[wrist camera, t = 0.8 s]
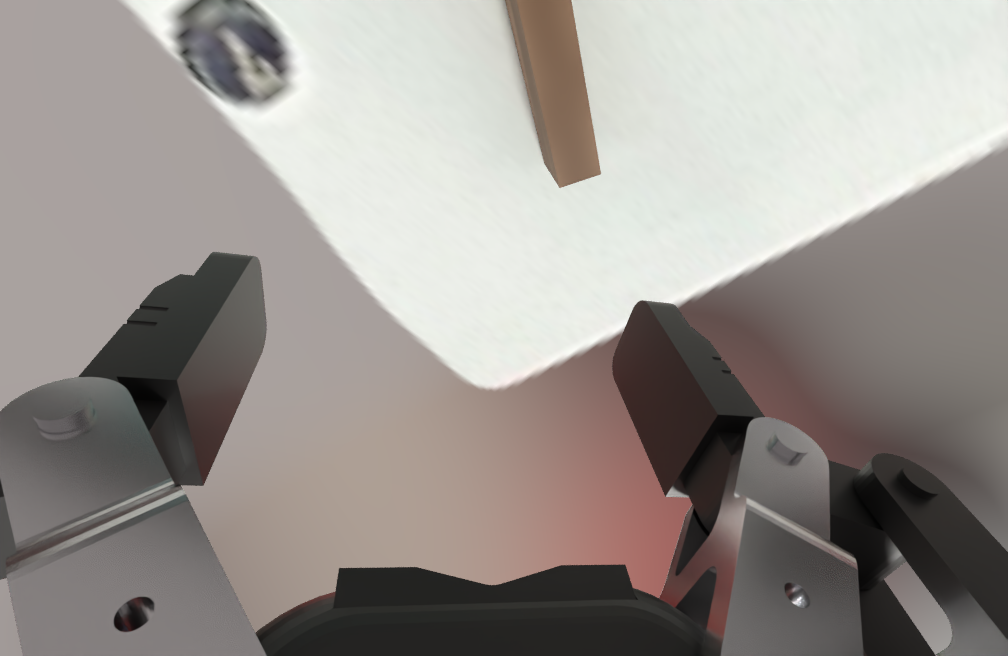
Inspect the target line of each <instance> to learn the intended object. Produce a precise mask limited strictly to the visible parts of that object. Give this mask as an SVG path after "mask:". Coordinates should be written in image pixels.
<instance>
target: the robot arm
mask: <svg viewBox="0 0 1008 656" xmlns="http://www.w3.org/2000/svg"><path fill="white" fill-rule="evenodd" d="M265 338H266V313H265V303H264V293H263V284H262V273H261V266H260V262H259V259H258V258H257V257H255V256H247V255H238V254H229V253H220V252H213V253H211V254H210V255H209V257H208V258H207V259H206V261H205V262H204V263H203V264H202V266H201V267H200V268H199V270H198V271H197V272H196V274H195V275H194V276H192V275H182V274H180V275H178V276H176V277H174V278H172V279H170V280H169V281H167V282H165V283H163V284H161V285H159V286H157V287H155V288H154V289H153V291H152V292H151V293H150V294H149V295H148V296H147V298H146V299H145V300H144V301H143V302H142V303H141V305H140V309H136V310H135V312H134V313H133V314H132V315H131V316H130V317H129V318H128V320H127V324H123V326H122V327H121V328H120V329H119V330H118V331H117V332H116V334H115V335H114V336H113V337H112V338H111V340H110V341H109V342H108V343H107V344H106V345H105V346H104V347H103V349H102V350H101V351H100V352H99V353H98V354H97V356H96V357H95V358H94V359H93V360H92V361H91V363H90V364H89V365H88V366H87V368H85V370H84V371H83V372H82V373H81V374H80V375H79V377H76V378H70V379H64V380H60V381H55V382H52V383H48V384H45V385H42V386H40V387H37V388H35V389H32V390H30V391H28V392H26V393H24V394H22V395H21V396H19V397H18V398H16V399H14V400H13V401H11V402H10V403H9V404H8V405H7V406H5V407H4V408H3V409H2V410H1V411H0V579H4V578H7V581H8V586H9V591H10V596H11V601H12V606H13V610H14V615H15V620H16V625H17V629H18V634H19V639H20V644H21V648H22V653H23V656H1008V552H1007V551H1006V550H1005V549H1004V548H1003V547H1002V546H1001V544H1000V543H999V542H998V541H997V540H996V539H995V538H994V537H993V536H992V535H991V534H990V533H989V531H988V530H987V529H986V528H985V527H984V526H983V525H982V524H981V523H980V522H979V521H978V520H977V519H976V517H975V516H974V515H973V514H972V513H971V512H970V511H969V510H968V509H967V508H966V507H965V506H964V505H963V504H962V502H961V501H960V500H959V499H958V498H957V497H956V496H955V495H954V494H953V493H952V492H951V491H950V489H948V488H947V486H946V485H944V483H943V482H941V481H940V480H939V479H938V478H937V477H935V476H934V475H933V474H931V473H930V472H929V471H927V470H926V469H924V468H923V467H921V466H919V465H917V464H916V463H914V462H912V461H910V460H908V459H905V458H903V457H900V456H897V455H893V454H885V453H882V454H877V455H875V456H874V457H873V458H872V459H871V460H870V461H869V462H868V463H867V464H866V465H865V466H864V467H863V468H862V469H861V470H858V469H855V468H852V467H849V466H845V465H842V464H839V463H836V462H832V461H829V460H827V457H826V456H825V454H824V452H823V451H822V449H821V448H820V447H819V446H818V445H817V444H816V442H815V441H813V440H812V439H811V438H810V437H809V436H808V435H806V434H805V433H804V432H802V431H801V430H799V429H798V428H796V427H794V426H792V425H790V424H788V423H786V422H783V421H781V420H778V419H774V418H768V417H765V416H764V415H763V414H762V412H761V411H760V410H759V408H758V407H757V405H756V404H755V403H754V401H753V400H752V398H751V397H750V396H749V395H748V393H747V392H746V390H745V389H744V388H743V386H742V385H741V383H740V382H739V381H738V379H737V378H736V377H735V375H734V374H731V370H730V368H729V367H728V366H727V364H726V363H725V362H724V361H721V356H720V355H719V354H718V352H717V351H716V349H715V348H714V347H713V345H712V344H711V343H710V341H708V340H707V339H706V338H705V337H703V336H702V335H701V334H700V333H698V332H697V331H696V330H695V329H693V328H692V327H690V325H689V324H688V323H687V321H686V320H685V318H684V317H683V316H682V314H681V313H680V311H679V310H678V308H677V307H676V306H675V305H674V304H670V303H661V302H652V301H639V302H638V303H637V304H636V305H635V306H634V308H633V310H632V313H631V315H630V317H629V320H628V322H627V325H626V327H625V329H624V332H623V334H622V336H621V339H620V341H619V344H618V346H617V349H616V351H615V353H614V357H613V365H612V367H613V368H612V369H613V376H614V380H615V382H616V384H617V387H618V389H619V391H620V394H621V396H622V398H623V400H624V403H625V405H626V407H627V410H628V412H629V414H630V417H631V419H632V421H633V423H634V426H635V428H636V430H637V433H638V435H639V437H640V439H641V442H642V444H643V446H644V449H645V451H646V453H647V455H648V458H649V460H650V462H651V464H652V467H653V469H654V471H655V474H656V476H657V478H658V481H659V483H660V485H661V487H662V490H663V492H664V494H665V497H689V498H690V499H691V502H692V504H693V505H692V506H691V507H690V509H689V510H688V512H687V514H686V516H685V519H684V522H683V525H682V529H681V532H680V535H679V539H678V542H677V545H676V549H675V552H674V555H673V559H672V562H671V565H670V569H669V572H668V575H667V579H666V582H665V585H664V588H663V590H662V593H661V595H660V597H659V598H657V597H655V596H653V595H651V594H648V593H645V592H643V591H640V590H638V589H634V588H632V584H631V581H630V578H629V575H628V572H627V569H626V566H625V565H567V566H566V565H561V566H558V567H555V568H552V569H549V570H545V571H542V572H538V573H535V574H532V575H529V576H526V577H522V578H519V579H516V580H513V581H510V582H506V583H503V584H499V585H485V584H481V583H477V582H473V581H469V580H465V579H461V578H457V577H453V576H449V575H445V574H441V573H437V572H433V571H429V570H425V569H421V568H417V567H397V568H396V567H395V568H339V573H338V579H337V586H336V592H333V593H329V594H326V595H323V596H319V597H317V598H314V599H312V600H309V601H307V602H305V603H302V604H300V605H298V606H296V607H294V608H293V609H291V610H289V611H287V612H285V613H283V614H281V615H280V616H278V617H277V618H275V619H274V620H273V621H271V622H269V623H268V624H267V625H265V626H264V627H262V628H261V629H259V630H258V631H257V632H256V633H255V632H254V629H253V628H252V625H251V623H250V622H249V619H248V618H247V615H246V613H245V611H244V609H243V608H242V606H241V603H240V601H239V600H238V597H237V596H236V593H235V592H234V589H233V588H232V586H231V584H230V582H229V580H228V578H227V576H226V574H225V572H224V570H223V568H222V566H221V564H220V562H219V560H218V558H217V556H216V554H215V552H214V550H213V548H212V546H211V544H210V542H209V540H208V538H207V536H206V534H205V532H204V530H203V528H202V526H201V524H200V522H199V520H198V518H197V516H196V514H195V512H194V510H193V508H192V506H191V504H190V502H189V500H188V498H187V496H186V494H185V492H184V490H183V489H182V487H181V485H195V486H197V485H199V486H203V485H204V483H205V481H206V479H207V476H208V474H209V472H210V469H211V467H212V465H213V462H214V460H215V458H216V456H217V454H218V451H219V449H220V447H221V444H222V442H223V440H224V438H225V435H226V433H227V431H228V429H229V426H230V424H231V422H232V419H233V417H234V415H235V413H236V410H237V408H238V406H239V404H240V401H241V399H242V397H243V395H244V392H245V390H246V388H247V385H248V383H249V381H250V379H251V376H252V374H253V372H254V369H255V367H256V365H257V363H258V360H259V358H260V356H261V353H262V351H263V348H264V344H265ZM906 561H907V562H908V563H909V565H910V566H911V567H912V569H913V570H914V571H915V573H916V574H917V576H918V577H919V578H920V579H921V581H922V582H923V584H924V585H925V586H926V588H927V589H928V590H929V592H930V593H931V594H932V596H933V597H934V598H935V600H936V601H937V602H938V604H939V605H940V607H941V608H942V609H943V611H944V612H945V614H946V615H947V617H948V619H949V622H950V624H951V629H952V640H951V643H950V645H949V646H948V647H947V648H946V649H945V650H943V651H941V652H940V653H938V654H936V655H935V654H934V652H933V651H932V649H931V648H930V647H929V645H928V644H927V642H926V641H925V639H924V638H923V636H922V635H921V633H920V632H919V630H918V629H917V628H916V626H915V625H914V623H913V622H912V620H911V619H910V617H909V616H908V614H907V613H906V611H905V610H904V609H903V607H902V606H901V604H900V603H899V601H898V600H897V598H896V597H895V595H894V594H893V592H892V591H891V589H890V588H889V586H888V585H887V584H886V582H885V581H884V578H886V577H887V576H888V575H889V574H891V573H892V572H893V571H895V570H896V569H897V568H898V567H900V566H901V565H902V564H903V563H905V562H906Z"/></svg>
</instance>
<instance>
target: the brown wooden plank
mask: <svg viewBox="0 0 1008 656" xmlns="http://www.w3.org/2000/svg"><path fill="white" fill-rule="evenodd" d="M505 2H506V6H507V10H508V14H509V18H510V23H511V27H512V31H513V35H514V39H515V43H516V47H517V51H518V56H519V60H520V64H521V68H522V72H523V76H524V80H525V85H526V89H527V93H528V97H529V101H530V105H531V109H532V114H533V118H534V122H535V126H536V130H537V134H538V138H539V143H540V147H541V151H542V155H543V159H544V163H545V165H546V167H547V169H548V170H549V172H550V173H551V175H552V176H553V178H554V180H555V181H556V183H557V184H558V186H559V188H561V187H564V186H567V185H570V184H573V183H576V182H579V181H582V180H585V179H588V178H591V177H594V176H597V175H600V174H601V171H600V166H599V160H598V154H597V148H596V142H595V136H594V130H593V125H592V119H591V113H590V107H589V101H588V95H587V90H586V84H585V78H584V72H583V66H582V60H581V55H580V49H579V43H578V37H577V31H576V25H575V19H574V14H573V8H572V2H571V0H505Z"/></svg>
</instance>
